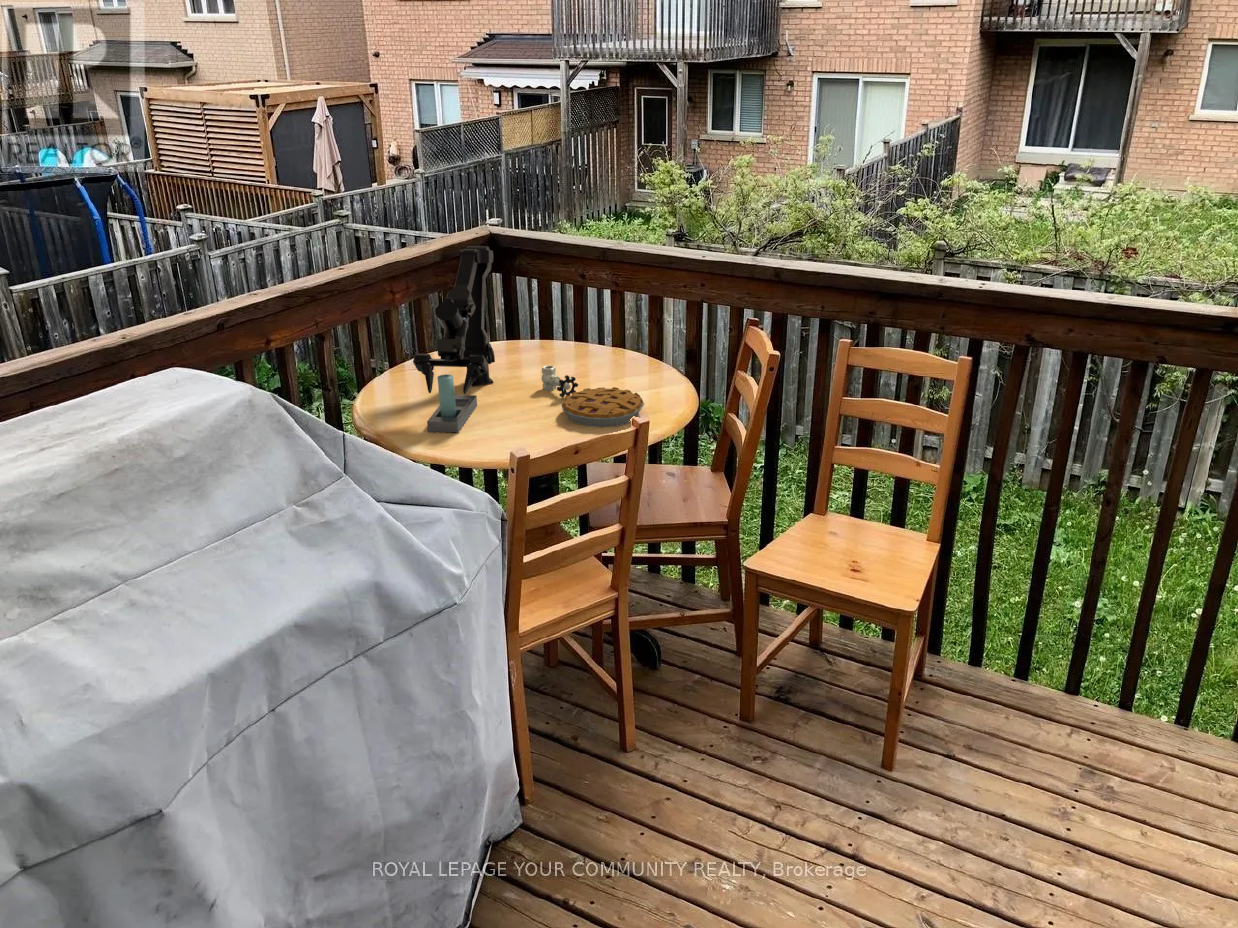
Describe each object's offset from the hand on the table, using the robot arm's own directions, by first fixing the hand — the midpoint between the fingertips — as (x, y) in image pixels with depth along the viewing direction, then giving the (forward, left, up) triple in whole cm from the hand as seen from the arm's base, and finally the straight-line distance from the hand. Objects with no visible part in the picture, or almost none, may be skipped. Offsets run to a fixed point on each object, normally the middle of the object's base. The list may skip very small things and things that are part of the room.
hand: (446, 393), depth 257 cm
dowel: (0, 0, -9) cm, 9 cm away
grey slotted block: (-3, +2, -9) cm, 9 cm away
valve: (-11, +34, -9) cm, 37 cm away
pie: (+11, +39, -9) cm, 41 cm away
